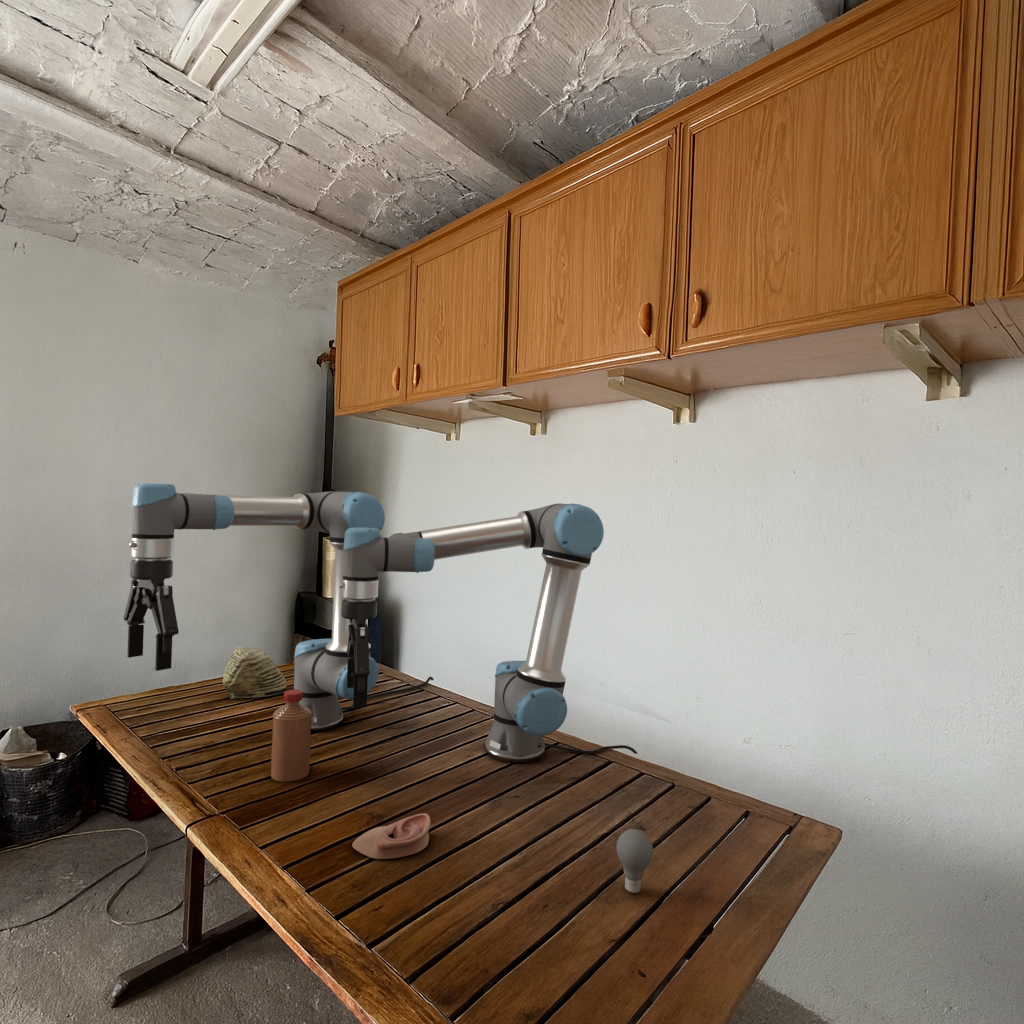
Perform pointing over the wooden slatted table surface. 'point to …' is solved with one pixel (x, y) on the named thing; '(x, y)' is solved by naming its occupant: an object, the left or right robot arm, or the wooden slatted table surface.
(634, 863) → the light bulb
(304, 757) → the bottle
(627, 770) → the wooden slatted table surface
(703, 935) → the wooden slatted table surface
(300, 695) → the cap
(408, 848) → the anatomical model
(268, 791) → the wooden slatted table surface
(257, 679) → the fossil
